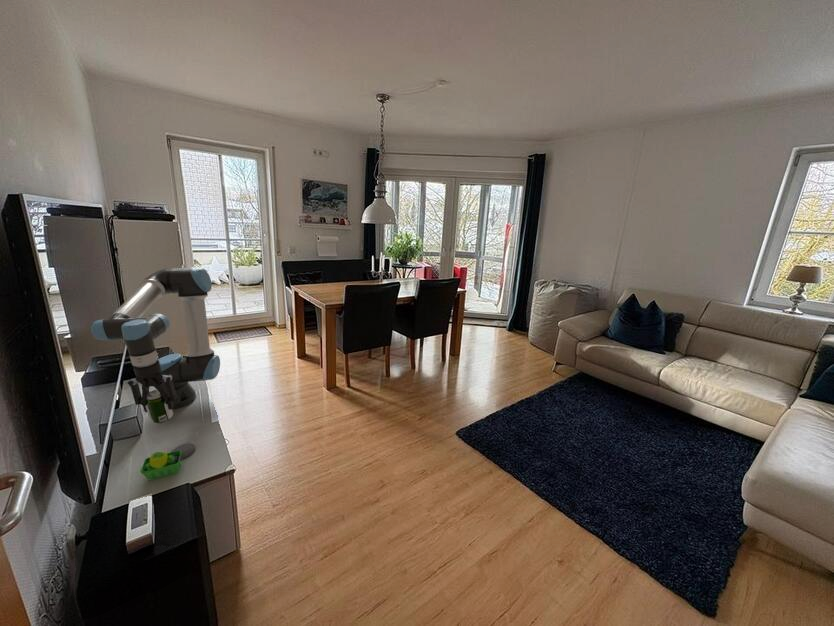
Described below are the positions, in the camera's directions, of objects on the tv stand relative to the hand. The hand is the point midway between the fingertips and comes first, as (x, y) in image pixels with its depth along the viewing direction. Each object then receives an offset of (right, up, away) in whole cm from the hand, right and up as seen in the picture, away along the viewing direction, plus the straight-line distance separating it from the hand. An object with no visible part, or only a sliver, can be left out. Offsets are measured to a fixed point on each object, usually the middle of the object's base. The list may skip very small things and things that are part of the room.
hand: (161, 417), depth 131 cm
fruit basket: (+3, -20, -3) cm, 20 cm away
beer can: (0, -1, +1) cm, 1 cm away
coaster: (+4, -16, +6) cm, 18 cm away
